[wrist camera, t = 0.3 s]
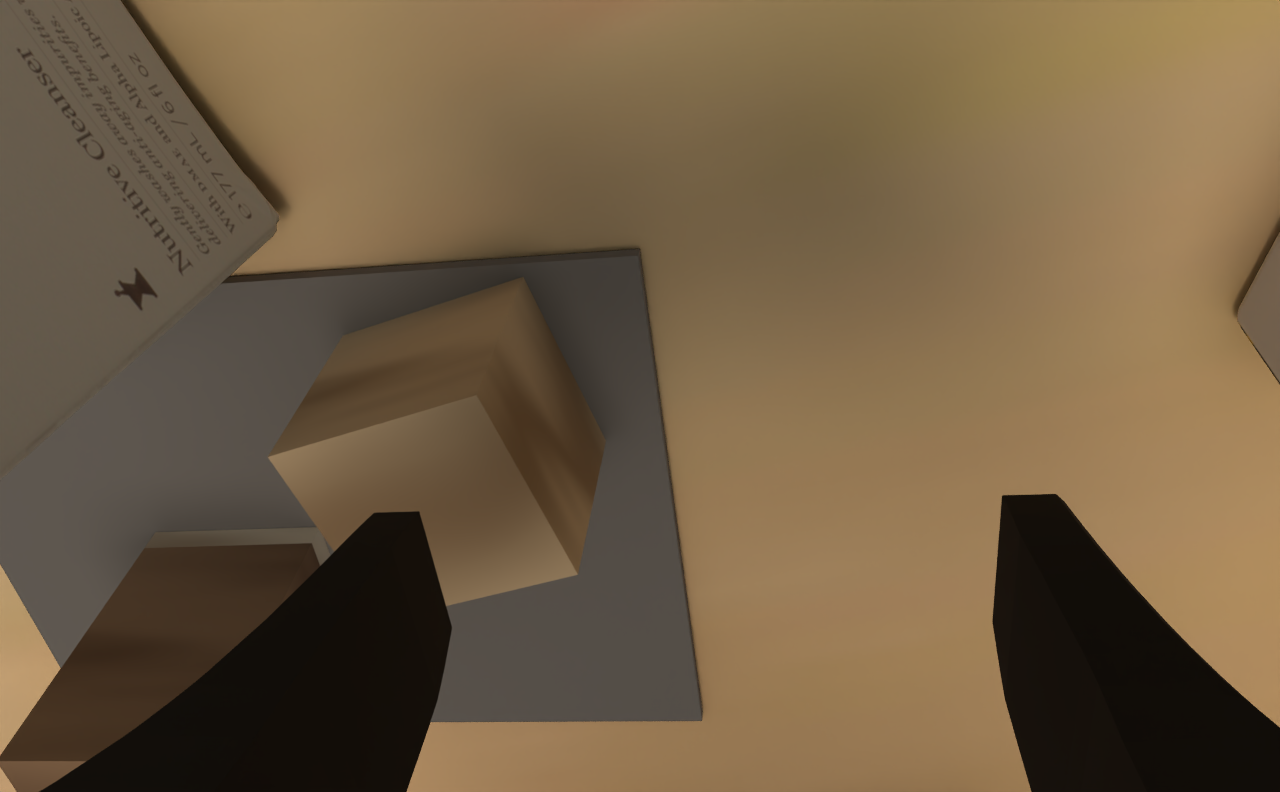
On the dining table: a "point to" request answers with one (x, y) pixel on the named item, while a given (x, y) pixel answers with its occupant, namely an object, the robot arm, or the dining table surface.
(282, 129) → the dining table surface
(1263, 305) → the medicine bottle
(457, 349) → the oak cube
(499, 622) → the felt mat
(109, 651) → the walnut block
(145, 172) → the skincare box
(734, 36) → the dining table surface
